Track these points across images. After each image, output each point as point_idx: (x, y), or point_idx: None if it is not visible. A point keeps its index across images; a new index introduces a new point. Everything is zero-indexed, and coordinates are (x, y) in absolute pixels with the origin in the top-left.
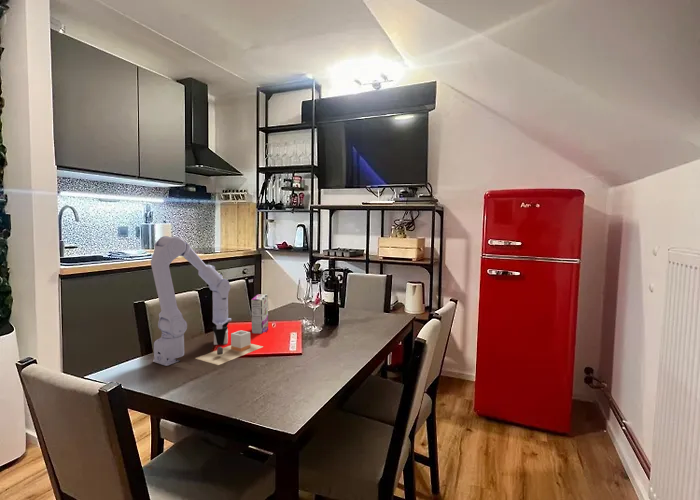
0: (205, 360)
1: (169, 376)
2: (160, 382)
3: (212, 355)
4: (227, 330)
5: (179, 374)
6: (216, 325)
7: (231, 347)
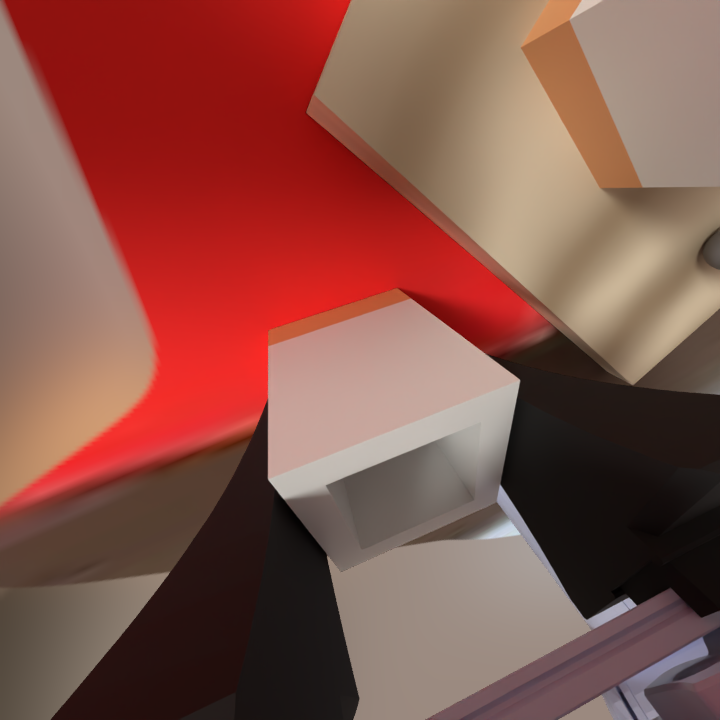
0: (706, 314)
1: (686, 385)
2: (712, 383)
3: (653, 308)
4: (383, 433)
5: (695, 362)
6: (342, 655)
7: (625, 182)
